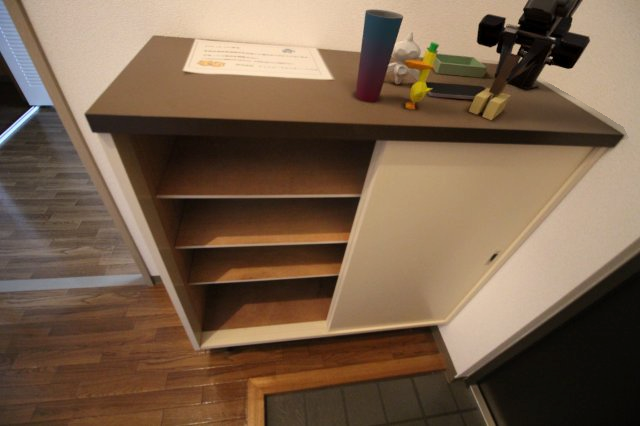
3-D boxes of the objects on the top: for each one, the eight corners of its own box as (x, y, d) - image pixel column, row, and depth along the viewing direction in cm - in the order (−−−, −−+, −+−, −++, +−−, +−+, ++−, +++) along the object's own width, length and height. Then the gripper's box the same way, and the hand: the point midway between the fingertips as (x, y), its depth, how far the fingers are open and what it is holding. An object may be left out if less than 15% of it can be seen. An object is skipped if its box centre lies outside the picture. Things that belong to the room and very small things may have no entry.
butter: (479, 103, 65) (487, 87, 62) (501, 111, 63) (510, 95, 60) (468, 111, 61) (475, 95, 58) (491, 120, 59) (500, 103, 56)
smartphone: (422, 81, 69) (483, 86, 70) (421, 86, 70) (481, 90, 70) (430, 93, 64) (495, 98, 64) (428, 98, 65) (493, 102, 65)
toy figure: (393, 108, 58) (412, 42, 50) (392, 101, 61) (410, 37, 52) (426, 112, 58) (450, 47, 50) (423, 105, 61) (446, 42, 52)
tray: (469, 66, 85) (473, 57, 83) (482, 77, 78) (487, 67, 76) (427, 62, 84) (430, 52, 82) (436, 73, 77) (440, 63, 75)
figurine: (372, 84, 67) (384, 30, 59) (372, 77, 70) (383, 25, 63) (423, 91, 66) (441, 38, 59) (420, 84, 70) (437, 32, 62)
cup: (381, 106, 59) (403, 20, 48) (349, 100, 59) (364, 14, 49) (383, 93, 63) (403, 13, 53) (353, 88, 64) (367, 7, 53)
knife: (483, 107, 63) (511, 53, 55) (492, 110, 62) (522, 55, 54) (478, 111, 61) (506, 55, 54) (487, 114, 60) (517, 58, 53)
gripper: (508, -40, 51) (457, 36, 53) (633, -24, 43) (568, 67, 45) (499, 9, 61) (456, 73, 63) (599, 31, 53) (547, 103, 55)
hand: (501, 78), depth 56 cm, fingers closed on knife, 2 cm apart
